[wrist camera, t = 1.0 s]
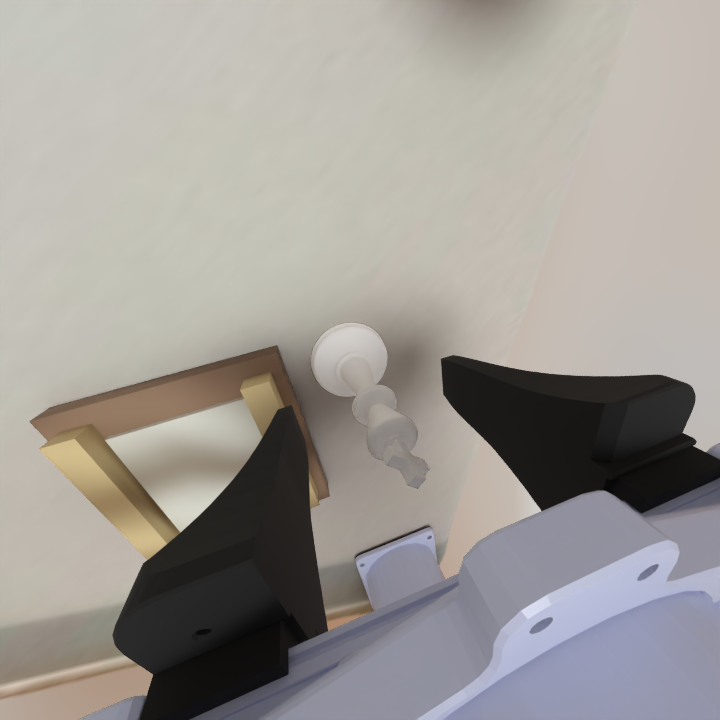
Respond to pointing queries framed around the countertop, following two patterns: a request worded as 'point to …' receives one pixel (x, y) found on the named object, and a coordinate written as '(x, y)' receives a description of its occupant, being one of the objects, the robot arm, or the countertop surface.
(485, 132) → the countertop surface
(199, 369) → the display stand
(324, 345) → the chess piece
